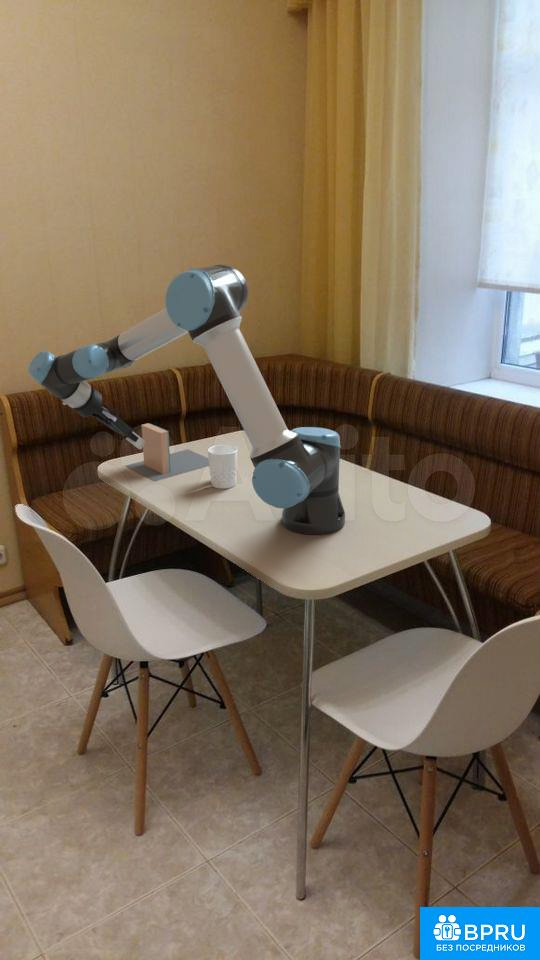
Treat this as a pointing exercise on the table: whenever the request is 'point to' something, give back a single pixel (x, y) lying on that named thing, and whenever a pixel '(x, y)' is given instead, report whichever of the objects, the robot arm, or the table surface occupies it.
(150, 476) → the mat
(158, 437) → the tile
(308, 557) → the table surface
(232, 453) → the white cup
